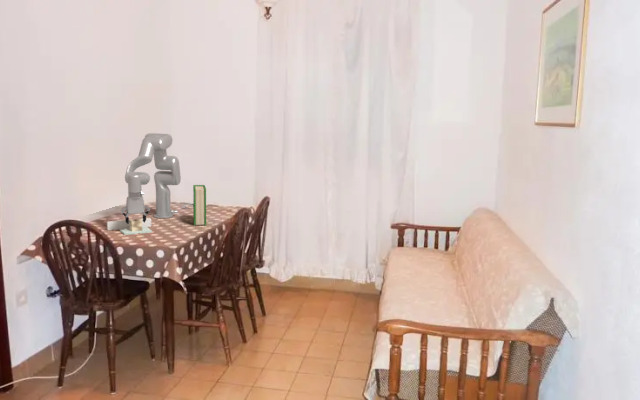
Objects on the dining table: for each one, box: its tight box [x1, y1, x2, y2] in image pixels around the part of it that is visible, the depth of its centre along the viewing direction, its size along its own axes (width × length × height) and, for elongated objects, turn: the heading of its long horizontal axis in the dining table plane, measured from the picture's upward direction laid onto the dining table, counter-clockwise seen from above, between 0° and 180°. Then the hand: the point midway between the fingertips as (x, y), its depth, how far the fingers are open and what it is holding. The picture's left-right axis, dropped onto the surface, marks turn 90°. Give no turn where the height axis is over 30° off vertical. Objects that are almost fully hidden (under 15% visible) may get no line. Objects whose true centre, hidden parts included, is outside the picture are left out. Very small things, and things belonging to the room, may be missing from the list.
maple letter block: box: [129, 218, 142, 231], centre depth 324 cm, size 6×6×6 cm
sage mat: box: [119, 227, 153, 236], centre depth 325 cm, size 16×12×1 cm
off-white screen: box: [106, 217, 152, 231], centre depth 333 cm, size 26×2×5 cm, turn 123°
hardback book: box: [192, 184, 207, 226], centre depth 352 cm, size 18×7×24 cm, turn 15°
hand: (135, 222), depth 324 cm, fingers open, 9 cm apart
